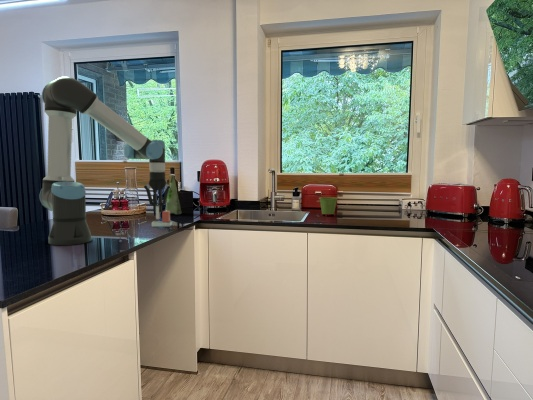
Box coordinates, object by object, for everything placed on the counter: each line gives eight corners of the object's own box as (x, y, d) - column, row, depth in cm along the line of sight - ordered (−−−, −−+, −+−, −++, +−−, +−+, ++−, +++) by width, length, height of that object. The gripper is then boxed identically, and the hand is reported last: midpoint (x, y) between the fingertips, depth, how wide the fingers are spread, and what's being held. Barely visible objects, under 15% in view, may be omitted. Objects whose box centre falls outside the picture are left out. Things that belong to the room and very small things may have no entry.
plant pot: (316, 214, 243) (316, 197, 242) (334, 214, 244) (334, 197, 243) (320, 217, 231) (321, 198, 230) (340, 217, 232) (340, 198, 231)
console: (170, 226, 190) (170, 222, 190) (151, 226, 189) (151, 222, 189) (171, 225, 195) (171, 221, 194) (153, 225, 194) (153, 221, 194)
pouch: (174, 215, 228) (174, 174, 226) (158, 214, 233) (158, 173, 231) (185, 213, 238) (185, 173, 236) (170, 212, 243) (170, 173, 241)
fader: (168, 222, 189) (168, 211, 189) (162, 222, 189) (162, 211, 189) (170, 220, 194) (170, 210, 194) (164, 220, 194) (164, 210, 194)
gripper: (172, 171, 193) (172, 217, 195) (145, 171, 192) (146, 217, 194) (169, 171, 186) (169, 219, 188) (142, 171, 185) (142, 219, 187)
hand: (157, 218), depth 191 cm, fingers closed
